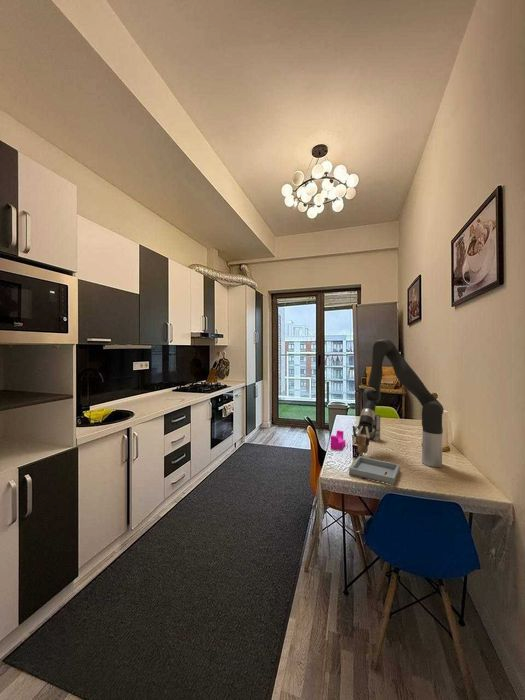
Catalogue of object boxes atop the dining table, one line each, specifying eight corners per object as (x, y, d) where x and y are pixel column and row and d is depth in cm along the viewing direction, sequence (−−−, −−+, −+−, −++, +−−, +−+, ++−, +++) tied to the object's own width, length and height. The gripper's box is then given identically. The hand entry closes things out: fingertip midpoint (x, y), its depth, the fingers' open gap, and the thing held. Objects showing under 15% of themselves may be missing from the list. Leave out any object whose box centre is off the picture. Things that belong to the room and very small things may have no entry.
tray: (399, 471, 145) (399, 464, 145) (394, 486, 130) (394, 478, 130) (358, 462, 156) (358, 456, 156) (349, 475, 140) (349, 467, 140)
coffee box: (380, 439, 195) (380, 415, 195) (376, 441, 191) (376, 416, 190) (367, 436, 202) (367, 412, 201) (363, 438, 197) (363, 414, 197)
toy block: (340, 450, 174) (340, 438, 174) (330, 448, 177) (330, 436, 177) (347, 443, 187) (347, 431, 187) (337, 441, 190) (337, 430, 190)
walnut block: (367, 450, 162) (367, 434, 162) (365, 453, 158) (365, 436, 158) (359, 449, 164) (359, 433, 164) (357, 451, 161) (357, 435, 161)
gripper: (353, 413, 171) (347, 439, 161) (379, 416, 164) (374, 443, 154) (355, 420, 176) (350, 445, 166) (380, 423, 168) (376, 450, 158)
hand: (361, 444), depth 160 cm, fingers closed on walnut block, 4 cm apart
